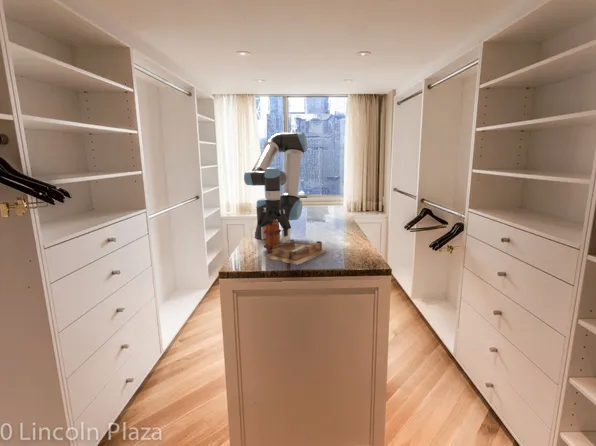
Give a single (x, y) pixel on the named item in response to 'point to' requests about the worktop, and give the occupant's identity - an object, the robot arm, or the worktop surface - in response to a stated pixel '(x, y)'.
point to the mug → (272, 235)
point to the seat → (292, 253)
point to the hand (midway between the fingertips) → (273, 240)
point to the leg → (314, 247)
